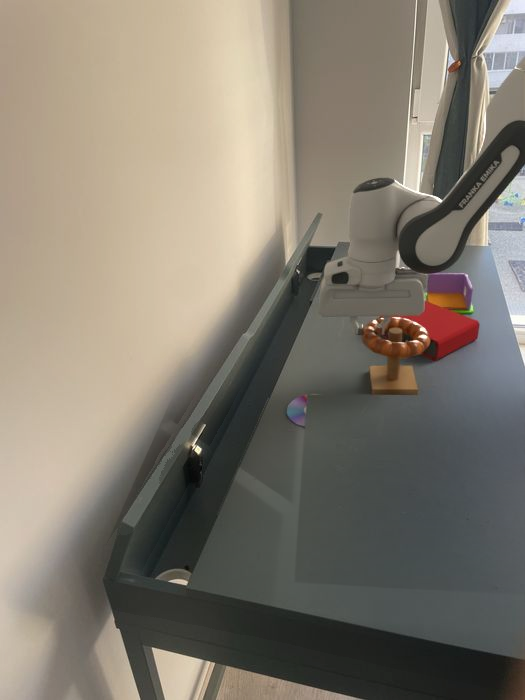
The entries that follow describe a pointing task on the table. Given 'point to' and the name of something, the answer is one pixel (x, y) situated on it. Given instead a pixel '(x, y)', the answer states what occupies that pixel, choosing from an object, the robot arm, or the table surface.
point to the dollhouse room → (450, 292)
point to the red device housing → (443, 330)
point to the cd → (298, 410)
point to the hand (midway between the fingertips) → (369, 333)
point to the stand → (393, 374)
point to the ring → (396, 348)
